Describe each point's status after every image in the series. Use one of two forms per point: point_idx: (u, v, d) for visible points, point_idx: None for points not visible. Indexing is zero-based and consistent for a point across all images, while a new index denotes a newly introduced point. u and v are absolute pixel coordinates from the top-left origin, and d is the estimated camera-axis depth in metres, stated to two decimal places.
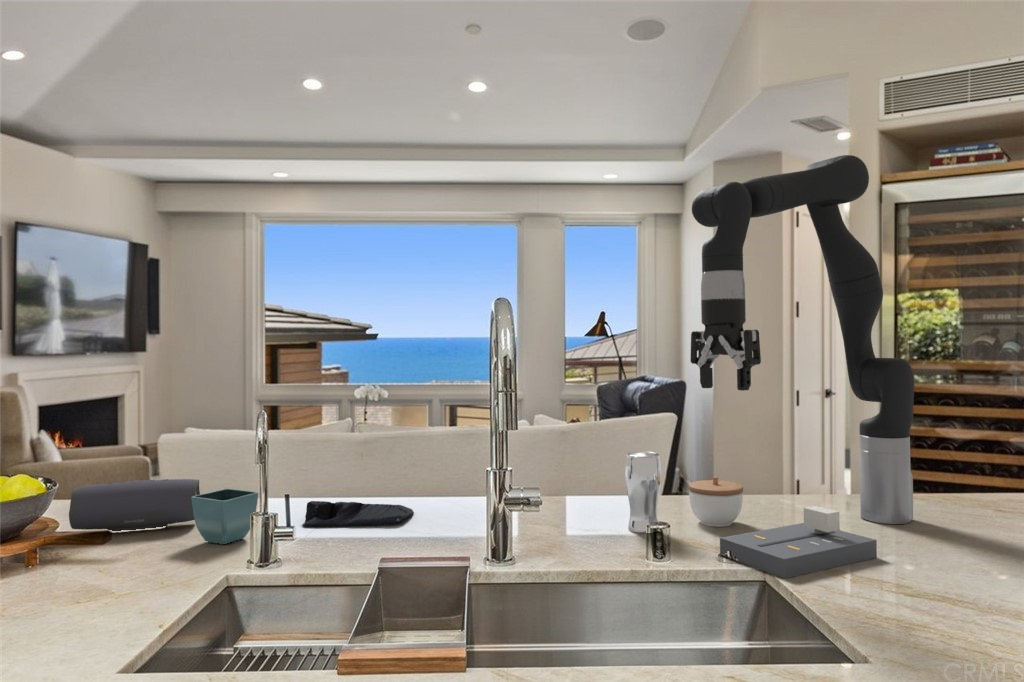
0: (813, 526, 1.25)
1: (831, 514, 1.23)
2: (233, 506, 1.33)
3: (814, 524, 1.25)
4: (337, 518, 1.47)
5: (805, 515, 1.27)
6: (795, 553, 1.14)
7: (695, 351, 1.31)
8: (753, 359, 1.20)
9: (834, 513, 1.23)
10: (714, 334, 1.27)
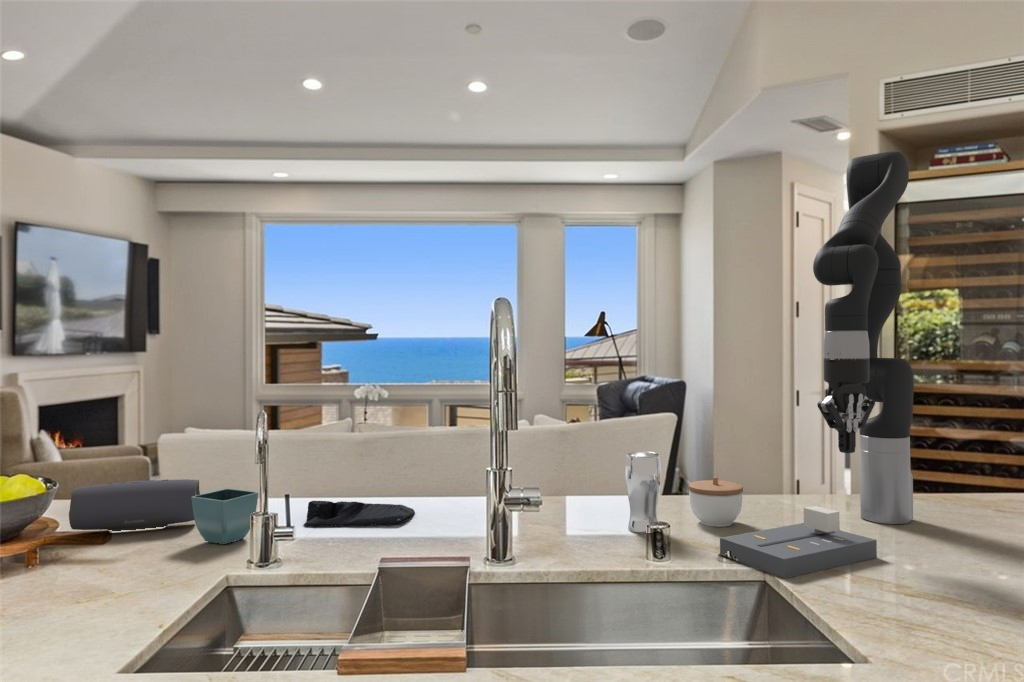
0: (813, 526, 1.25)
1: (831, 514, 1.23)
2: (233, 506, 1.33)
3: (814, 524, 1.25)
4: (338, 517, 1.47)
5: (805, 515, 1.27)
6: (795, 553, 1.14)
7: (839, 416, 1.26)
8: None
9: (834, 513, 1.23)
10: (845, 393, 1.27)
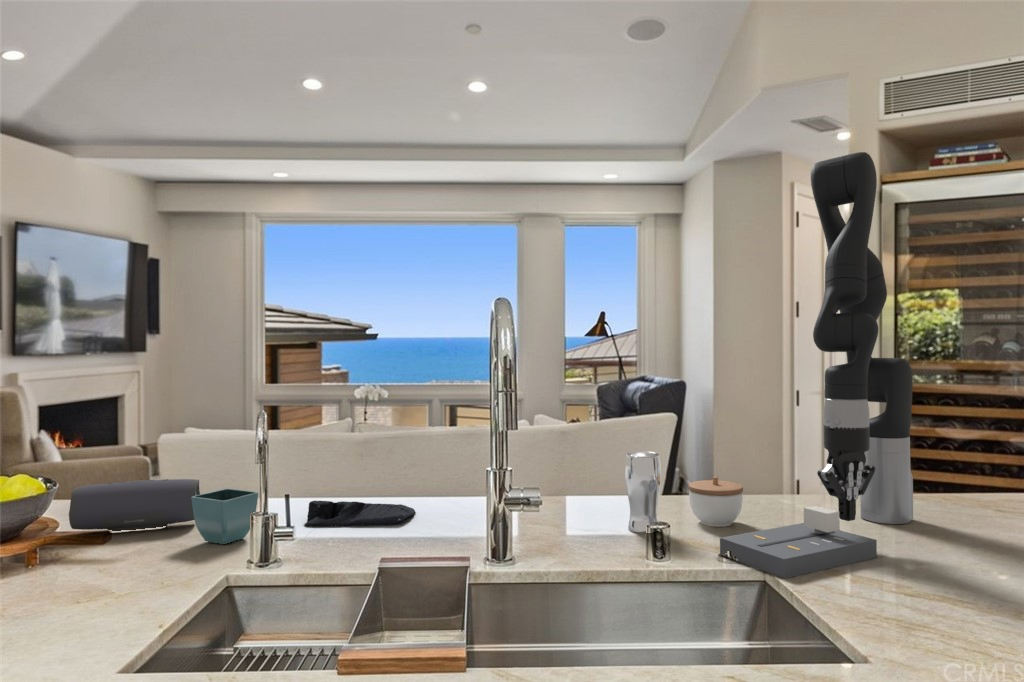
0: (813, 526, 1.25)
1: (831, 514, 1.23)
2: (233, 506, 1.33)
3: (814, 524, 1.25)
4: (339, 517, 1.47)
5: (805, 515, 1.27)
6: (795, 553, 1.14)
7: (839, 485, 1.26)
8: None
9: (834, 513, 1.23)
10: (846, 461, 1.27)
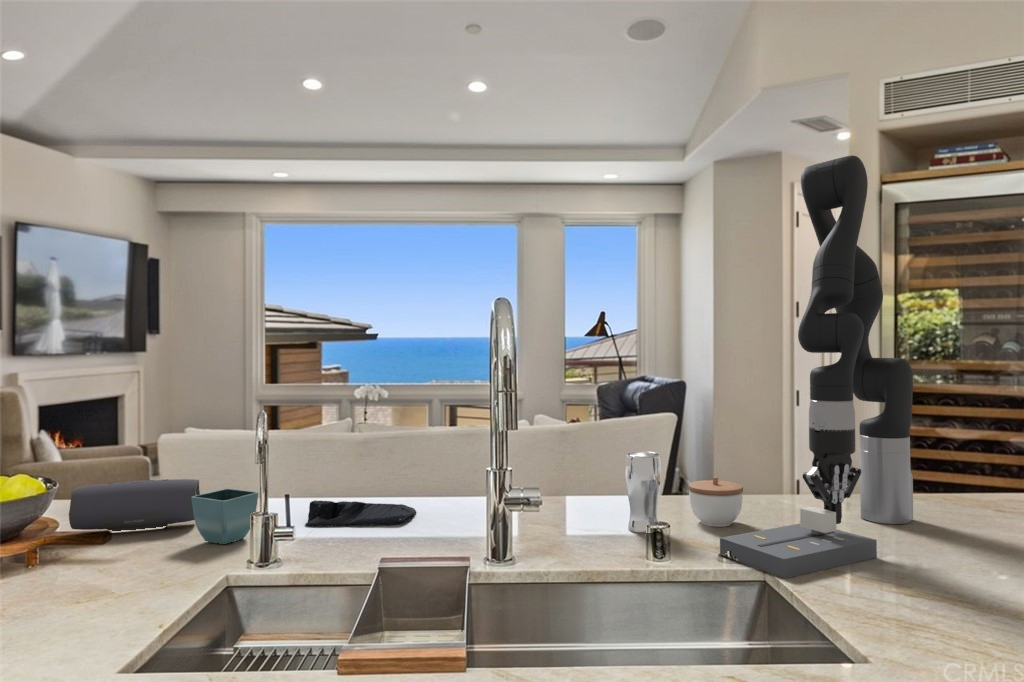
0: (810, 527, 1.25)
1: (828, 515, 1.23)
2: (233, 506, 1.33)
3: (811, 525, 1.24)
4: (340, 517, 1.47)
5: (802, 516, 1.26)
6: (795, 553, 1.14)
7: (825, 488, 1.24)
8: None
9: (831, 514, 1.23)
10: (831, 464, 1.25)
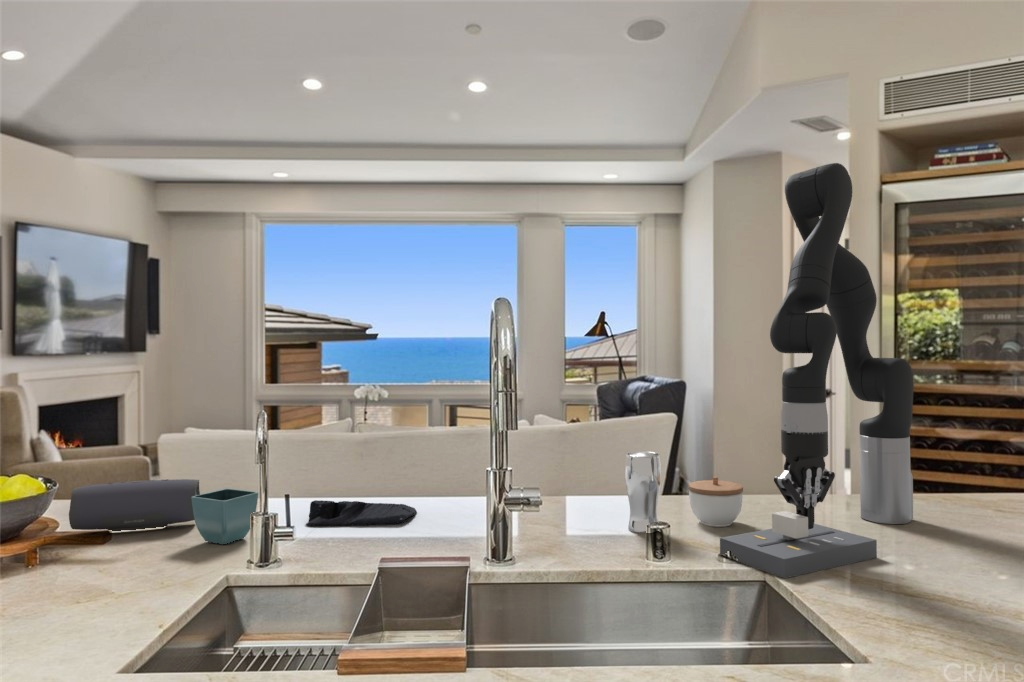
0: (781, 532, 1.22)
1: (799, 520, 1.19)
2: (233, 506, 1.33)
3: (783, 530, 1.21)
4: (341, 517, 1.47)
5: (773, 520, 1.23)
6: (795, 553, 1.14)
7: (796, 492, 1.21)
8: None
9: (802, 519, 1.20)
10: (803, 467, 1.22)
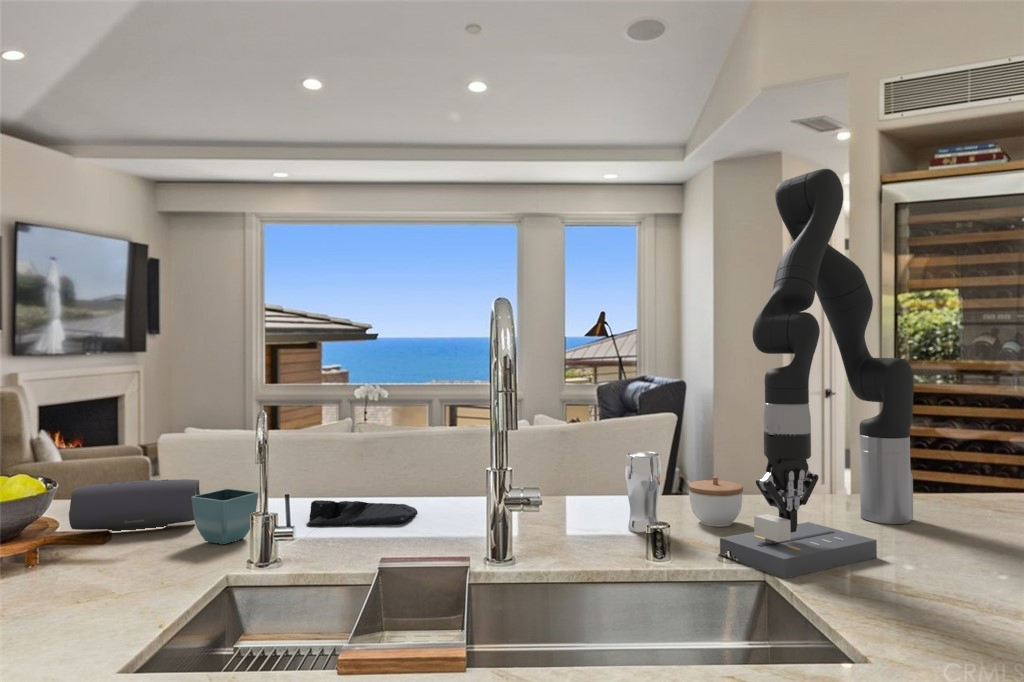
0: (763, 535, 1.20)
1: (781, 523, 1.17)
2: (233, 506, 1.33)
3: (765, 533, 1.19)
4: (342, 517, 1.48)
5: (756, 524, 1.21)
6: (795, 553, 1.14)
7: None
8: None
9: (785, 522, 1.18)
10: (785, 469, 1.20)
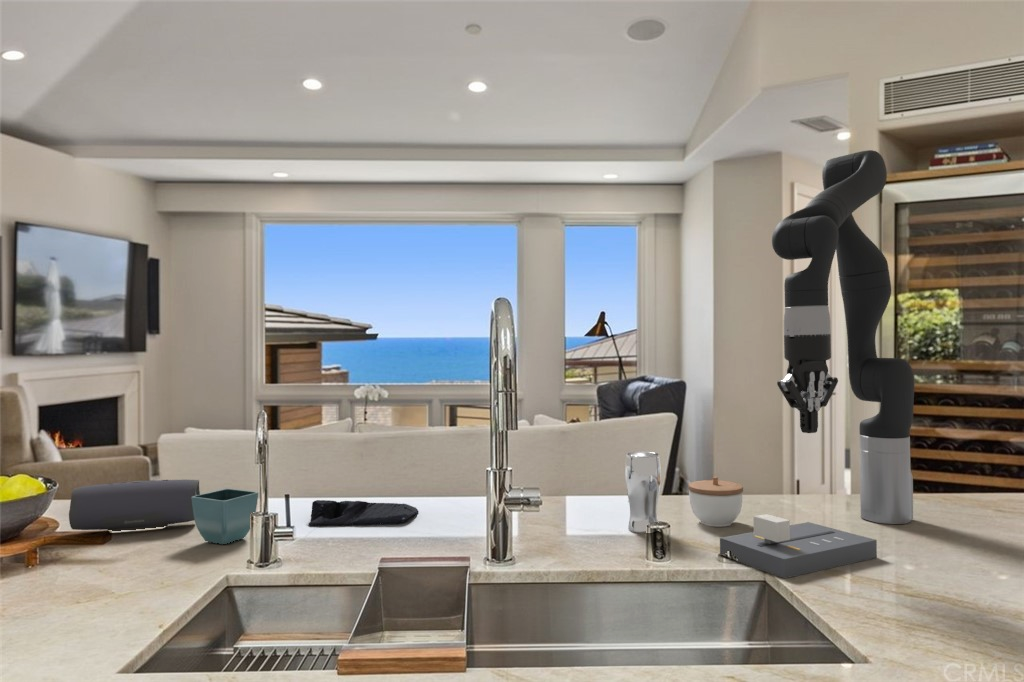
0: (763, 535, 1.20)
1: (781, 523, 1.17)
2: (233, 506, 1.33)
3: (764, 534, 1.19)
4: (343, 517, 1.48)
5: (755, 524, 1.21)
6: (795, 553, 1.14)
7: None
8: None
9: (784, 522, 1.18)
10: (806, 371, 1.22)
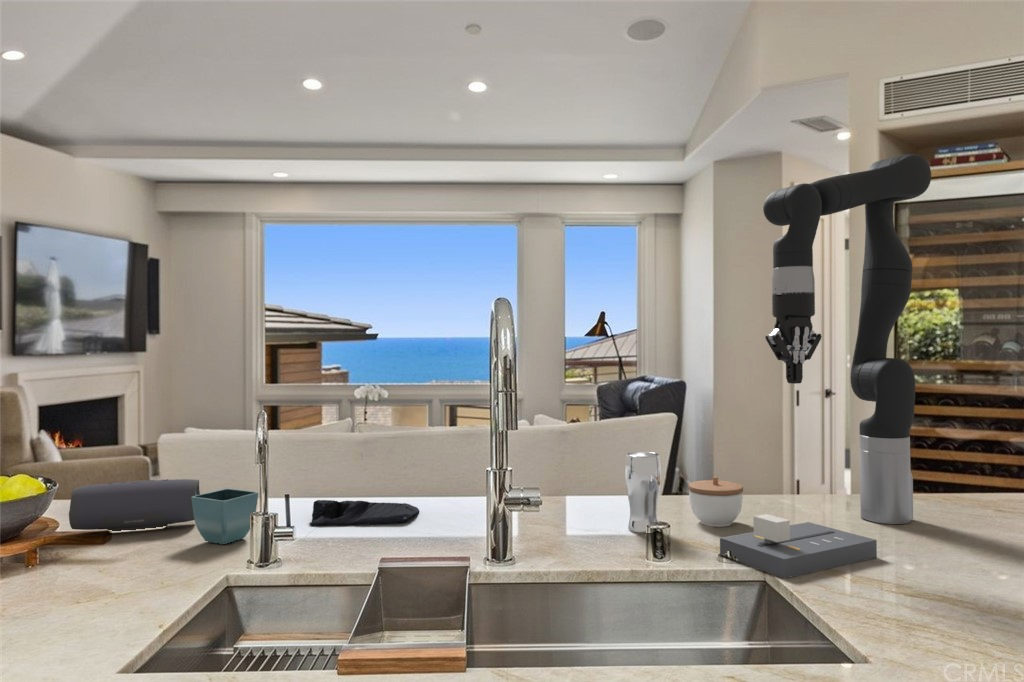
0: (763, 535, 1.20)
1: (781, 523, 1.17)
2: (233, 506, 1.33)
3: (764, 534, 1.19)
4: (344, 516, 1.48)
5: (755, 524, 1.21)
6: (795, 553, 1.14)
7: (786, 348, 1.33)
8: None
9: (784, 522, 1.18)
10: (792, 326, 1.34)
